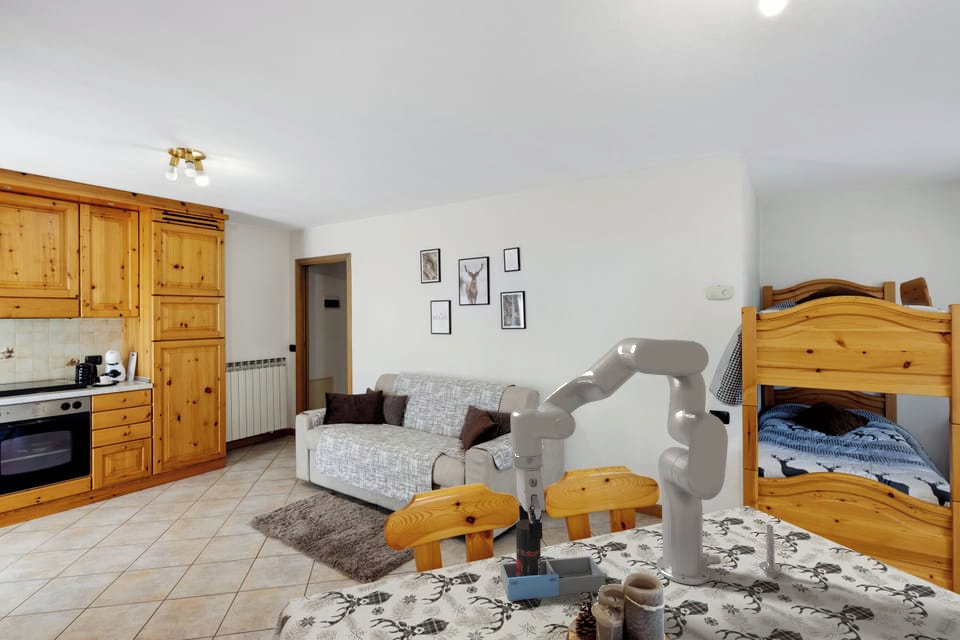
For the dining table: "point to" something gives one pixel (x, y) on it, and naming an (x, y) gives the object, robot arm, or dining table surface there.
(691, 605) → the dining table surface
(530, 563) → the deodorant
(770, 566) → the screw
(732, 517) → the dining table surface
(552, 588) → the two-compartment tray
